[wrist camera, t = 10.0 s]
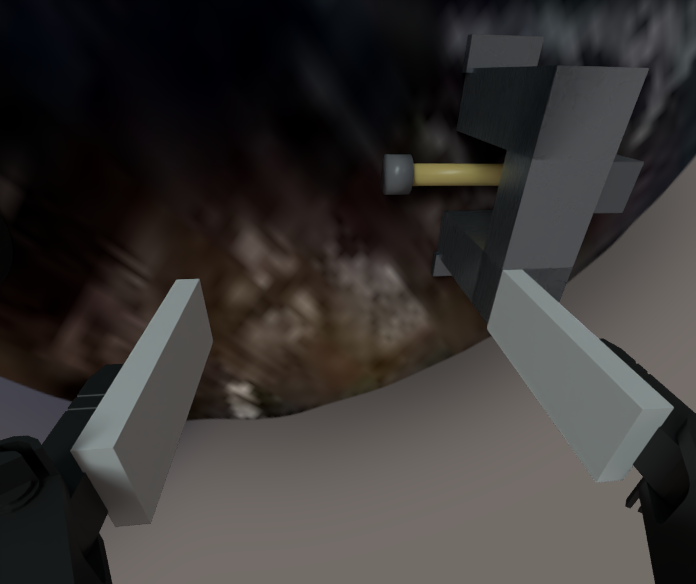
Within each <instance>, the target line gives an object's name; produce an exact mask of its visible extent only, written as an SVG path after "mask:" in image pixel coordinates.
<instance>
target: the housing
mask: <svg viewBox="0 0 696 584" xmlns="http://www.w3.org/2000/svg"><path fill="white" fill-rule="evenodd" d="M543 40H544V37H534V36H506V35H479V34H471V35H468V40H467V46H466V52H465V59H464V65H463V71H462V73H466V76H465V82H464V88H463V94H462V100H461V106H460V112H459V119H458V125H457V131H459V132H462V133H464V134H467V135H469V136H472V137H475V138H477V139H480V140H482V141H485V142H488V143H490V144H493V145H496V146H498V147H501V148H503V149H506V150H507V152H506V156H505V161H504V165H503V169H502V173H501V178H500V182H499V186H498V190H497V195H496V199H495V203H494V208H493V210H473V211H443V217H442V223H441V230H440V236H439V242H438V248H437V251H434V255H433V261H432V268H431V274H432V275H433V276H453V278H454V279H455V280H456V282H457V283H458V284H459V286H460V287H461V289H462V290H463V291H464V293H465V294H466V295H467V297H468V298H469V300H470V301H471V302H472V304H473V305H474V307H475V308H476V309H477V311H478V312H479V313H480V315H481V316H482V318H483V319H484V320H485V322H486V323H487V324H488V323H489V319H490V315H491V312H492V308H493V304H494V301H495V297H496V293H497V290H498V286H499V282H500V279H501V275H502V271H503V270H521V269H522V270H523V271H524V272H525V273H527V274H528V275H529V276H530V277H531V278H532V279H533V280H534V281H535V282H537V283H538V284H539V285H540V286H541V287H542V288H543V289H544V290H545V291H546V292H548V293H549V294H550V295H551V296H552V297H553V298H554V299H555V300H556V301H557V302H559V301H560V299H561V296H562V294H563V291H564V288H565V286H566V283H567V281H568V278H569V275H570V273H571V270H572V268H573V265H574V262H575V260H576V257H577V255H578V252H579V249H580V247H581V244H582V242H583V239H584V236H585V234H586V231H587V228H588V226H589V223H590V221H591V218H592V215H593V213H594V210H595V208H596V205H597V202H598V200H599V197H600V195H601V192H602V189H603V187H604V184H605V182H606V179H607V176H608V174H609V171H610V169H611V166H612V163H613V161H614V158H615V156H616V153H617V150H618V148H619V145H620V143H621V140H622V137H623V135H624V132H625V130H626V127H627V124H628V122H629V119H630V117H631V114H632V111H633V109H634V106H635V103H636V101H637V98H638V96H639V93H640V90H641V88H642V85H643V83H644V80H645V77H646V75H647V72H648V70H649V68H624V67H589V66H537V64H538V60H539V56H540V52H541V48H542V44H543Z"/></svg>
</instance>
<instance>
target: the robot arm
mask: <svg viewBox="0 0 696 584" xmlns="http://www.w3.org/2000/svg"><path fill="white" fill-rule="evenodd" d="M12 260H13V246H12V241H11V237H10V234H9V231H8V228H7V226H6V224H5V222H4V220H3V218H2V216H1V214H0V284H1V283H2V282H3V281H4V280H5V278H6V277H7V275H8V273H9V271H10V269H11V265H12ZM487 330H488V331H489V333H490V334H491V335H492V337H493V338H494V340H495V341H496V342H497V344H498V345H499V347H500V348H501V350H502V351H503V352H504V353H505V355H506V357H507V358H508V359H509V361H510V362H511V364H512V365H513V366H514V368H515V369H516V371H517V372H518V373H519V375H520V376H521V378H522V379H523V380H524V382H525V383H526V385H527V386H528V388H529V389H530V390H531V392H532V393H533V395H534V396H535V397H536V399H537V400H538V402H539V403H540V404H541V406H542V407H543V409H544V410H545V411H546V413H547V414H548V416H549V417H550V419H551V420H552V421H553V423H554V424H555V426H556V427H557V428H558V430H559V431H560V433H561V434H562V435H563V437H564V438H565V440H566V441H567V442H568V443H569V445H570V447H571V448H572V449H573V451H574V452H575V454H576V455H577V457H578V458H579V459H580V461H581V462H582V464H583V465H584V466H585V468H586V469H587V471H588V472H589V474H590V475H591V476H592V478H593V479H594V481H595V482H596V483H597V482H607V481H618V480H623V479H624V478H625V476H626V475H627V473H628V472H629V471H630V469H631V468H632V467H633V465H634V467H635V468H636V469H637V470H638V471H639V473H640V474H641V475H642V476H643V478H642V479H641V480H640V482H639V483H638V484H637V486H636V487H635V488H634V490H633V491H632V493H631V494H630V495H629V496H628V498H627V499H626V507H628V508H631V507H632V506H633V505H634V503H635V502H636V501H637V499H638V498H639V499H640V503H641V506H640V508H639V510H638V512H640V513H642V514H643V519H644V525H645V530H646V535H647V541H648V547H649V552H650V558H651V564H652V569H653V575H654V580H655V584H696V413H694V412H693V411H692V410H691V409H690V408H688V406H686V405H685V404H684V403H683V402H682V401H681V400H680V399H678V398H677V397H676V396H675V395H674V394H673V393H671V392H670V391H669V390H668V389H667V388H666V387H665V386H663V385H662V384H661V383H660V382H659V381H658V380H656V379H655V378H654V377H653V376H652V375H651V374H648V373H647V371H646V370H645V369H644V368H643V367H642V366H641V365H639V364H636V361H635V360H634V359H633V358H631V357H630V356H629V355H628V354H627V353H626V352H625V351H623V350H622V349H621V348H619V347H617V346H616V345H614V344H612V343H610V342H608V341H607V340H605V339H598V338H597V337H596V336H595V335H594V334H593V333H592V332H591V331H589V330H588V329H587V328H586V327H585V326H584V325H583V324H582V323H581V322H580V321H578V320H577V319H576V318H575V317H574V316H573V315H572V314H571V313H569V312H568V311H567V310H566V309H565V308H564V307H563V306H562V305H561V304H560V303H559V302H557V301H556V300H555V299H554V298H553V297H552V296H551V295H550V294H549V293H548V292H546V291H545V290H544V289H543V288H542V287H541V286H540V285H539V284H538V283H537V282H535V281H534V280H533V279H532V278H531V277H530V276H529V275H528V274H527V273H525V272H524V271H523V270H522V269H521V270H503V271H502V275H501V279H500V282H499V286H498V290H497V293H496V297H495V301H494V304H493V308H492V312H491V315H490V319H489V323H488V326H487ZM212 343H213V339H212V334H211V330H210V325H209V321H208V316H207V311H206V307H205V302H204V298H203V293H202V289H201V284H200V279H183V280H176V281H175V283H174V284H173V286H172V288H171V289H170V291H169V292H168V294H167V296H166V297H165V299H164V301H163V302H162V304H161V305H160V307H159V309H158V310H157V312H156V313H155V315H154V317H153V318H152V320H151V321H150V323H149V325H148V326H147V328H146V330H145V331H144V333H143V334H142V336H141V338H140V339H139V341H138V342H137V344H136V346H135V347H134V349H133V350H132V352H131V354H130V355H129V357H128V358H127V360H126V362H125V363H124V364H111V365H105V366H104V367H103V368H101V369H100V370H99V371H98V372H96V373H95V374H94V375H93V376H91V377H90V378H89V379H88V380H87V382H86V383H85V384H84V386H83V387H82V389H81V390H80V391H79V393H78V394H77V398H75V399H74V400H73V401H72V403H71V404H70V406H69V407H68V411H66V412H65V413H64V414H63V416H62V417H61V418H60V420H59V421H58V423H57V424H56V426H55V427H54V428H53V430H52V431H51V433H50V434H49V435H48V437H47V438H46V440H45V441H44V442H43V444H42V445H41V443H40V442H39V440H38V439H35V438H33V437H30V436H14V437H10V438H7V439H3V440H0V584H112V580H111V575H110V570H109V565H108V560H107V555H106V551H105V546H104V541H103V539H102V537H101V536H100V534H99V531H100V529H101V527H102V525H103V523H104V520H105V518H106V516H107V514H108V515H109V517H110V518H111V520H112V522H113V523H114V525H115V526H116V527H119V526H130V525H140V524H151V521H152V518H153V515H154V512H155V509H156V507H157V504H158V501H159V498H160V495H161V492H162V489H163V486H164V483H165V480H166V477H167V474H168V471H169V468H170V466H171V462H172V460H173V457H174V454H175V451H176V448H177V445H178V442H179V439H180V436H181V434H182V431H183V428H184V425H185V422H186V419H187V416H188V413H189V410H190V407H191V404H192V401H193V398H194V396H195V393H196V390H197V387H198V384H199V381H200V378H201V375H202V372H203V369H204V366H205V363H206V361H207V358H208V355H209V352H210V349H211V346H212Z"/></svg>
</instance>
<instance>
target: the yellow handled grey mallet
mask: <svg viewBox="0 0 696 584" xmlns="http://www.w3.org/2000/svg"><path fill="white" fill-rule="evenodd" d="M643 163H644V162H643V161H639V160H635V159H631V158H628V157H624V156H620V155H616V156H615V158H614V161H613V163H612V166H611V169H610V171H609V174H608V176H607V179H606V182H605V184H604V187H603V189H602V192H601V195H600V197H599V200H598V202H597V205H596V208H595V210H594V213H622V212H623V210H624V208H625V205H626V203H627V201H628V198H629V196H630V194H631V191H632V189H633V187H634V184H635V182H636V180H637V177H638V175H639V173H640V170H641V168H642V166H643ZM503 165H504V164H413V158H412V156H411V155H385V156H384V159H383V164H382V190H383V193H384V194H385V195H399V194H409V193H410V192H411V189H412V186H499V182H500V178H501V173H502V169H503Z"/></svg>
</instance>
